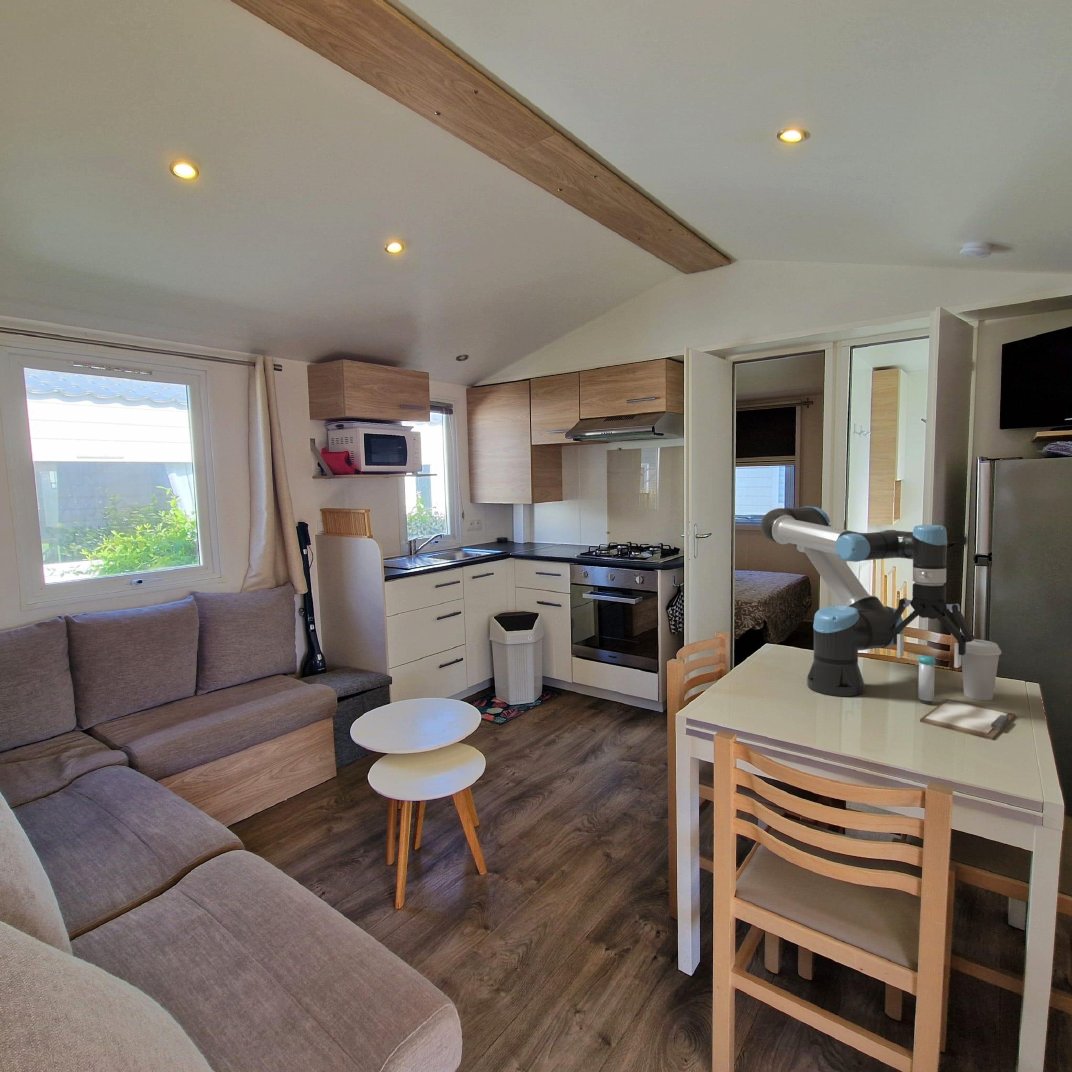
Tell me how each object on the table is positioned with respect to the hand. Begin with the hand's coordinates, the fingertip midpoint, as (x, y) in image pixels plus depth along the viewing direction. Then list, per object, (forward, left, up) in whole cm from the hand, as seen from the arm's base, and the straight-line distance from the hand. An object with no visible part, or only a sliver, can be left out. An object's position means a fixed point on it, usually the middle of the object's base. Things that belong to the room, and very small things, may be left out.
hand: (928, 661), depth 164 cm
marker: (0, 0, -12) cm, 12 cm away
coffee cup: (+8, +15, -12) cm, 21 cm away
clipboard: (+11, -5, -12) cm, 16 cm away
